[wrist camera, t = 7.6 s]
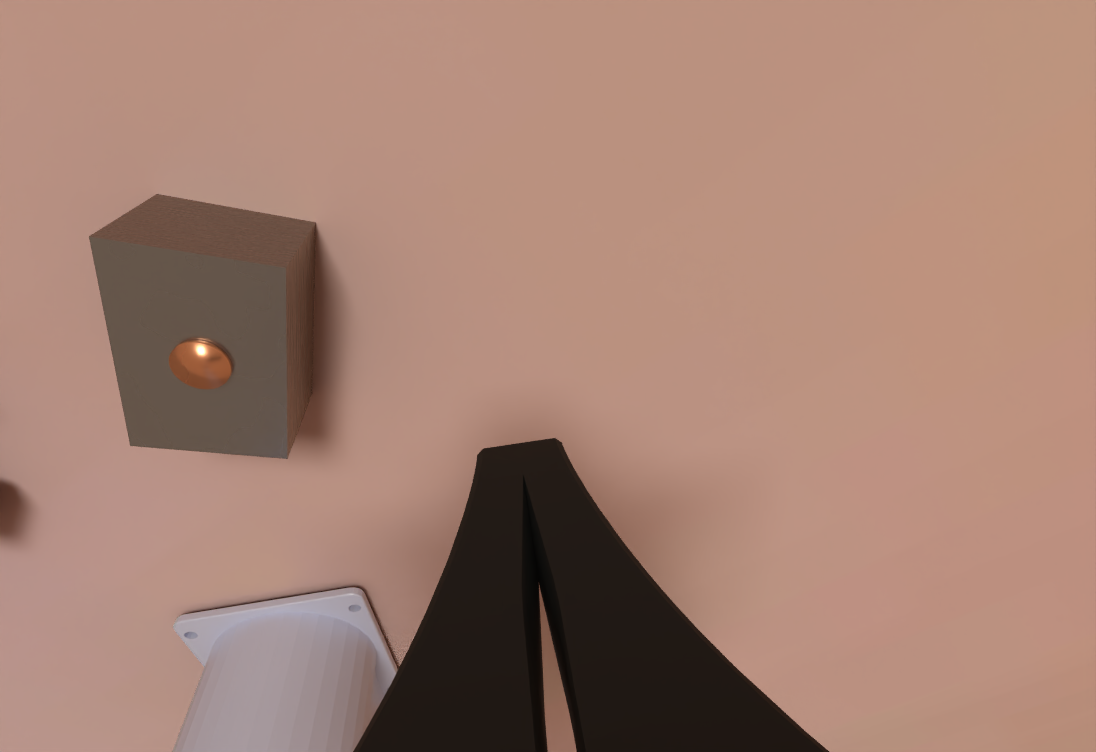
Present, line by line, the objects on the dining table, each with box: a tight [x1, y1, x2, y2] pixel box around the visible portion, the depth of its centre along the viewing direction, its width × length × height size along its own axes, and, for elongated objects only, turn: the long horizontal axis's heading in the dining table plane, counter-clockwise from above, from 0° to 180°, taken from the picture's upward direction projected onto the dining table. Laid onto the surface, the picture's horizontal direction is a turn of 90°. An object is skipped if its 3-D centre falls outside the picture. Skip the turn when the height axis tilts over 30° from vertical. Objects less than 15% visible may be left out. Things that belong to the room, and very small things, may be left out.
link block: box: [89, 194, 316, 459], centre depth 16 cm, size 6×4×4 cm, turn 166°
